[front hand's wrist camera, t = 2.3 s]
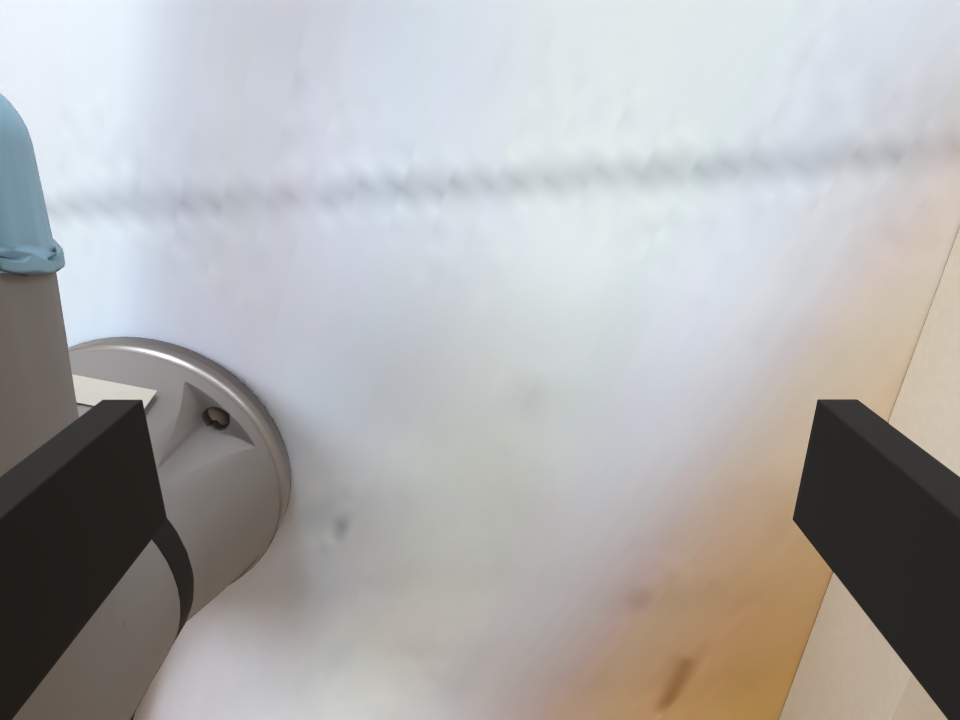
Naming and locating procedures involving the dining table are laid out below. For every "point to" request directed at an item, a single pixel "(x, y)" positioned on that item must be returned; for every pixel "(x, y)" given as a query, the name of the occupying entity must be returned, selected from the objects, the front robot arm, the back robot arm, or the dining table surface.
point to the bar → (841, 621)
